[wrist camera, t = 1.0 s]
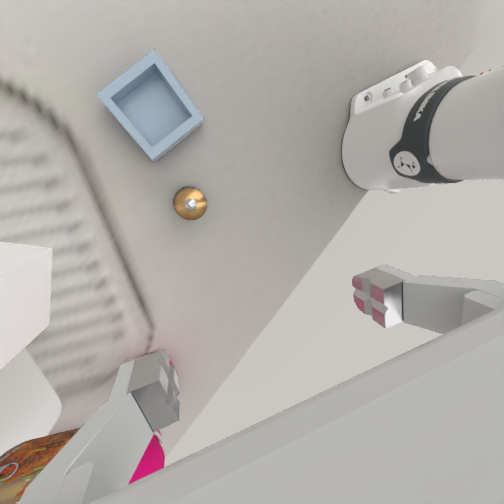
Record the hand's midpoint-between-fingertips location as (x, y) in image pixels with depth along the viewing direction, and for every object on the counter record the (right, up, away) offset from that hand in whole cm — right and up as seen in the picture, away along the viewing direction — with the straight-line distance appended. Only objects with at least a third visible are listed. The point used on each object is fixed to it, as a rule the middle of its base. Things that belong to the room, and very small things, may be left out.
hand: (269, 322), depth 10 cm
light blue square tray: (-13, +21, +22) cm, 33 cm away
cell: (-10, +11, +26) cm, 30 cm away
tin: (-34, -30, +31) cm, 55 cm away
